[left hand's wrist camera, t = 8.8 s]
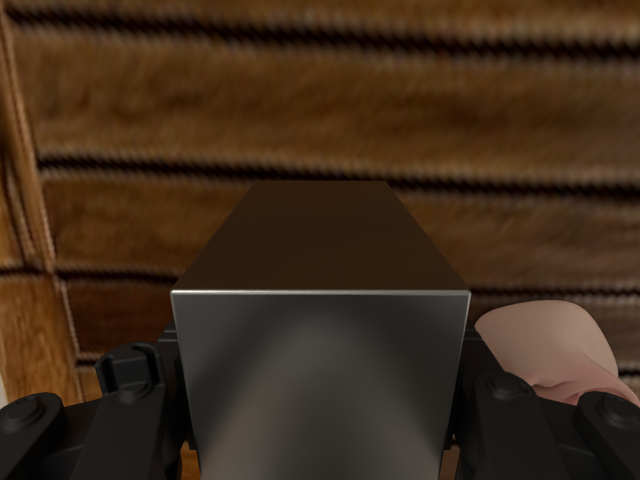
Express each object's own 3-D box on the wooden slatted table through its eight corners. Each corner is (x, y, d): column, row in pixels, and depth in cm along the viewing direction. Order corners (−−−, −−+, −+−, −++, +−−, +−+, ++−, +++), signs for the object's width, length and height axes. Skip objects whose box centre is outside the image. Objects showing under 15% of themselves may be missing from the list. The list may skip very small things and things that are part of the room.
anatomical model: (464, 360, 26) (632, 295, 24) (446, 327, 29) (589, 269, 28) (517, 477, 30) (662, 429, 28) (495, 435, 34) (622, 391, 32)
